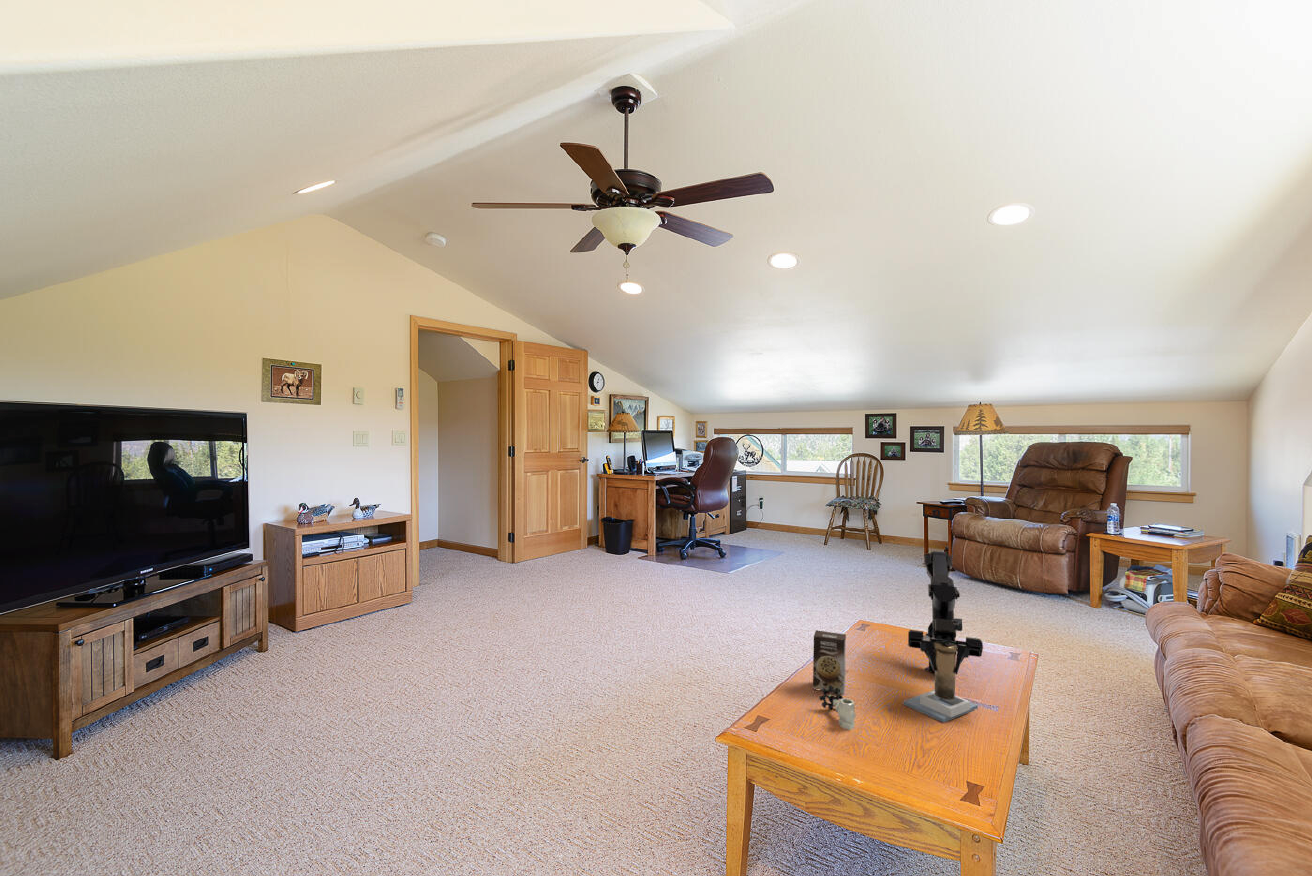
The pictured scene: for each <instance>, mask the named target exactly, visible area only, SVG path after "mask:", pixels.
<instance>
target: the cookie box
mask: <svg viewBox="0 0 1312 876" xmlns="http://www.w3.org/2000/svg"><path fill="white" fill-rule="evenodd" d="M846 641H847V634H845V633H838V632H832V631H824V630H818V629H816V630H815V632H814V635H813V653H812V654H813V655H812V657H813V663H812V670H813V672H812V689H813V688H815V689H820V690H822V689H823V688H824V689H826V690H828V689H829V688H828V687H829V685H831V686H833V688H834V689H833V690H835V688H839V689H840V692H838V694H839V695H843V696H844V695H845V690H846V653H847V651H846V647H847V646H846V645H847V642H846ZM832 694H835V693H834V692H833V693H832Z"/></svg>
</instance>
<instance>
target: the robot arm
mask: <svg viewBox="0 0 1312 876" xmlns="http://www.w3.org/2000/svg"><path fill="white" fill-rule="evenodd" d="M923 560H924V561H923V563H924V566H923V567H925V568H926V574H927V576H928V577H929V578H930V583H928V584H927V592H928V593H927V595H928V598H929V597H930V600H931V606H932V608H931V609H932V610H931V611H932V621H931V622H930V624H929V625H928V627H927V633H925V634H924V631H921V630H915V629H909V630H908V636H907V637H908V639H907V640H908V641H907V642H908V643H907V646H908V647H909V648H913V649H920V651H921V652H924V654H925V657H927V659H928V666H927V667H925V668H924V670H925V671H927V672H929V673H932V674H935V648H934V642H936V641H945V642H950V643H953V644H955V645H956V646H957V652H956V661H955V675H958V673H959V670H960V667H961V664H962V663H963V662H964V659H967V658H968V659H969V657H976V658H981V657H982V655H983V650H984V645H983V640H981V638H976V637H968V636H966V637H965V641H962V640H956V639H957V632H962V631H963V619H962V618H956V617H955V610H954V609H955V606H956V600H958V598H960V595H961V594H960V592H959V590H958V588H957V586H955V584H954V580H953V579H952V578H950V577H949V576H950V570H952V568H953V556H952V555H950V554H948V553H947V552H945V551H936V550H933V551H930V552H929V553H925V554H924V557H923Z"/></svg>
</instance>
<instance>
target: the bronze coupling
mask: <svg viewBox="0 0 1312 876" xmlns="http://www.w3.org/2000/svg"><path fill="white" fill-rule="evenodd" d="M934 648H935V673H934V690H935V695H936V696H938V697H940V698H942V699H948V700H951V699H954V698H955V696H956V674H955V667H956V658H957V646H956V645H955V644H953V643H950V642H945V641H936V642H934Z"/></svg>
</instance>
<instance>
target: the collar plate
mask: <svg viewBox="0 0 1312 876" xmlns="http://www.w3.org/2000/svg"><path fill="white" fill-rule="evenodd" d="M902 702H903V703H902V704H903V706H905V707H907V708H910V709H912V710H915V711H916V712H919V713H921V714H923V715H926V716H928V717H930V718H932V719H934V720H936V721H938V722H941V723H943V724H944V723H947V722H949V721H951V720H954V719H957V718H958V717H961V716H964V715H966V714H968V713H971V712H973V711H976V710H978V709H979V705H978V704H976V703H975V702H971V701H970V700H967V699H965V698H962V697H960V696H958V695H955V698H954V699H951V700H948V699H942V698H940V697H938V696H936V695H935V689H933V690H931V691H927V692H925V693H923V694H919V695H916V696H914V697H910V698H907V699H905V700H903V701H902ZM977 708H978V709H977ZM975 709H976V710H975Z"/></svg>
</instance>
